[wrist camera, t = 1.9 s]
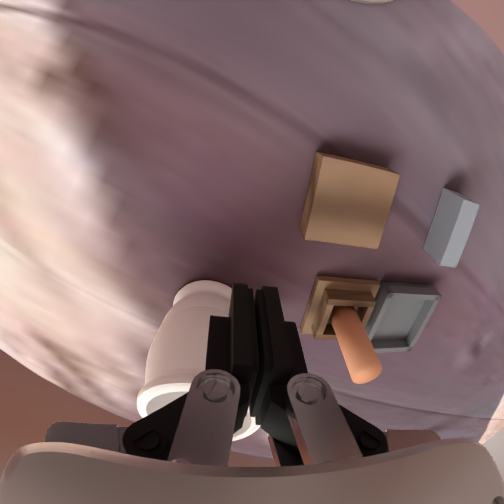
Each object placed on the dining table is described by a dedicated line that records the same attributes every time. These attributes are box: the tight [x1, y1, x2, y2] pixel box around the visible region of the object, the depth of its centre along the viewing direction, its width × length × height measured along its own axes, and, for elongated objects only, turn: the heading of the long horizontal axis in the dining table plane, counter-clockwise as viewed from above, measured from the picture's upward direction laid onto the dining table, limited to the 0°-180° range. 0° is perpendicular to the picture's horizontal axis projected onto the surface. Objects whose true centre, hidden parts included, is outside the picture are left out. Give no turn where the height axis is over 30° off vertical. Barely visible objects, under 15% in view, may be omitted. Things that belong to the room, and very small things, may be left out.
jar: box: [137, 280, 260, 441], centre depth 27 cm, size 11×10×15 cm
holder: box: [300, 275, 380, 340], centre depth 34 cm, size 8×8×3 cm
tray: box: [364, 281, 441, 353], centre depth 35 cm, size 10×9×2 cm
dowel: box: [329, 305, 382, 384], centre depth 30 cm, size 3×3×10 cm
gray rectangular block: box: [423, 188, 479, 267], centre depth 28 cm, size 8×3×4 cm, turn 172°
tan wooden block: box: [299, 152, 400, 249], centre depth 27 cm, size 8×8×3 cm
